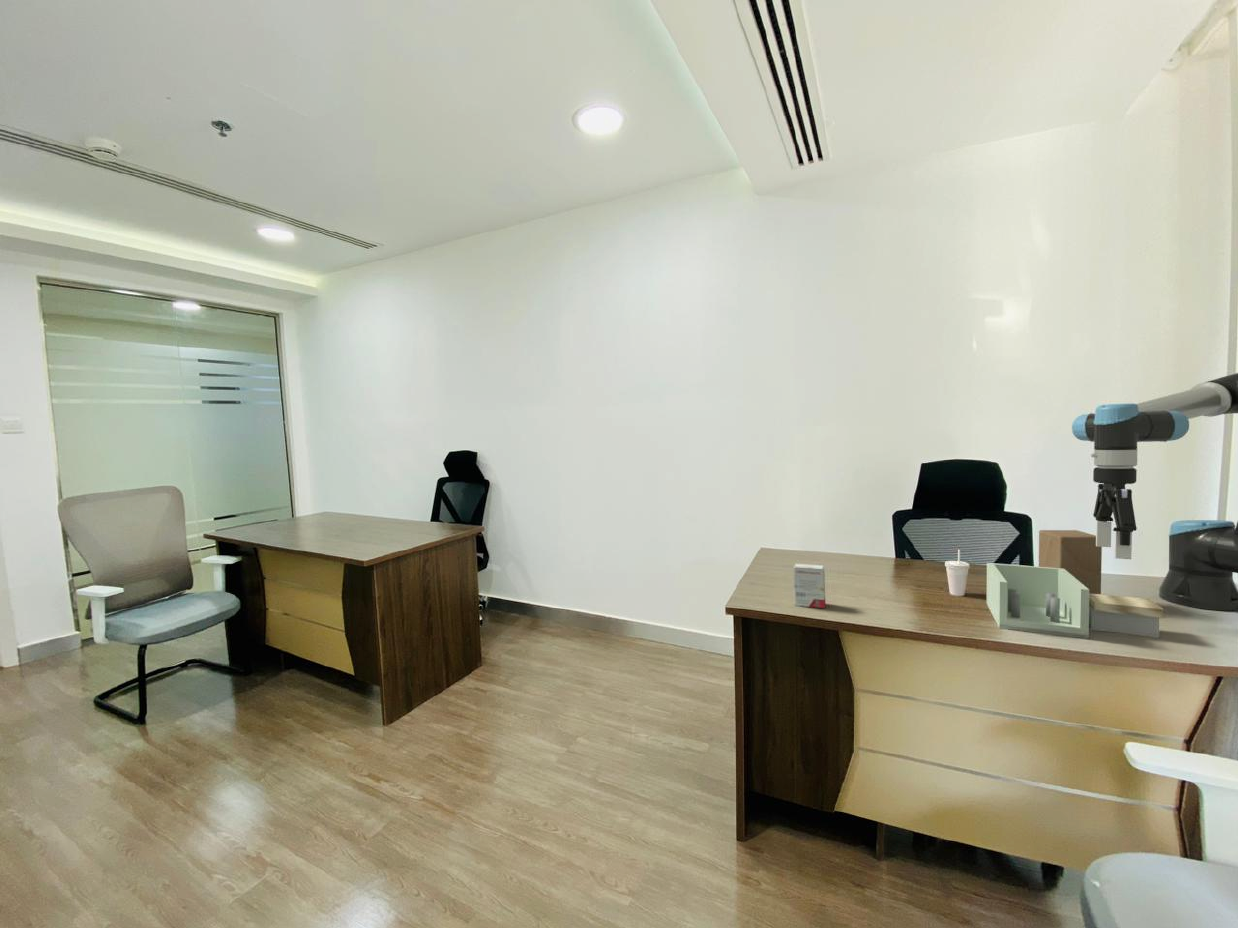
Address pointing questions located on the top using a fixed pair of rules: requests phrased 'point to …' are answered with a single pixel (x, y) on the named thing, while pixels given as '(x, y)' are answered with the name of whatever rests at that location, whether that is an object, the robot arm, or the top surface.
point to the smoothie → (957, 576)
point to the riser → (1124, 623)
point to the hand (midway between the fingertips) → (1112, 552)
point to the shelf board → (1125, 605)
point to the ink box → (809, 585)
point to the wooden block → (1072, 555)
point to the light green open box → (1038, 600)
